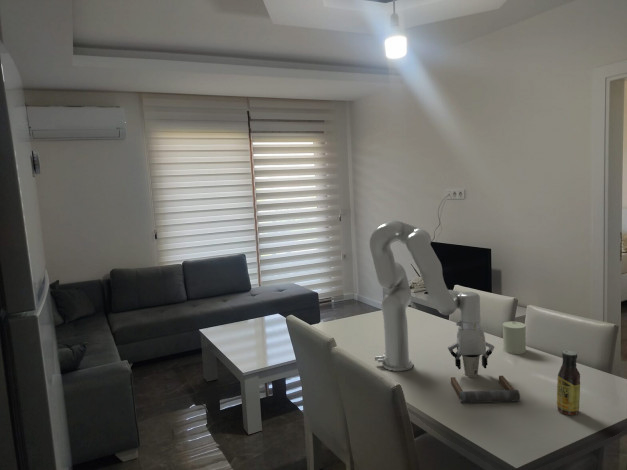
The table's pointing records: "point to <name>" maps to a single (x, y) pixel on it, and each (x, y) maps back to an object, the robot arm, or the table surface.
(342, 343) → the table surface
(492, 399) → the bay
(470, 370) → the coffee cup
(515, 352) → the can
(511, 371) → the table surface
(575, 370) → the sauce bottle
